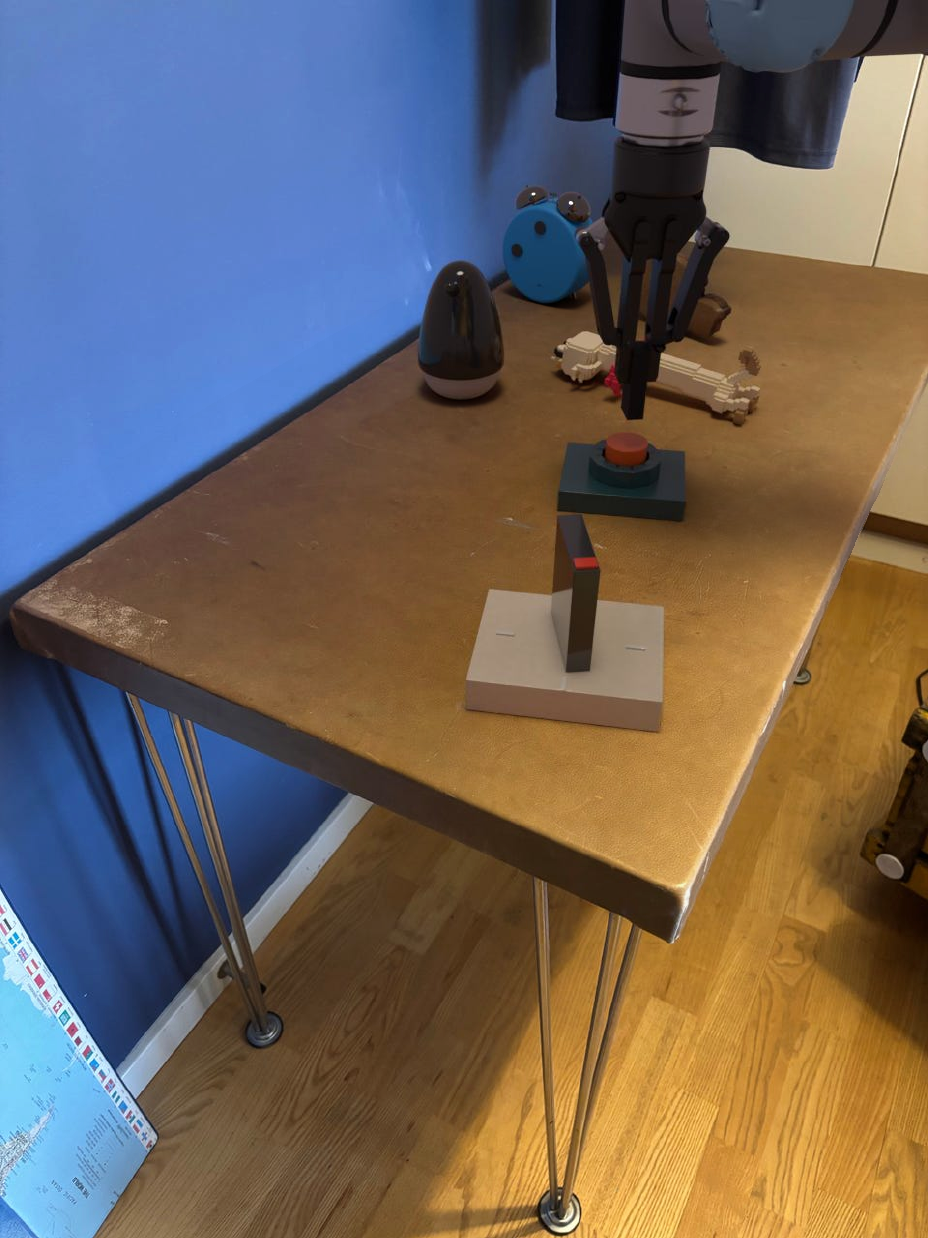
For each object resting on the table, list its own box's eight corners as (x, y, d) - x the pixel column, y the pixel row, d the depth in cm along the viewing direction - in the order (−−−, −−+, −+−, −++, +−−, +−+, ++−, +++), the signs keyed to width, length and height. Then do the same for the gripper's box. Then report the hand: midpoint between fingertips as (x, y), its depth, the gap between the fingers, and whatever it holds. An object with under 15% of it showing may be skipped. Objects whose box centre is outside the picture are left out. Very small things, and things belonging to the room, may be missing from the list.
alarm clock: (597, 301, 133) (606, 191, 123) (574, 314, 129) (582, 201, 119) (522, 283, 139) (526, 177, 129) (499, 295, 135) (501, 186, 126)
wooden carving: (733, 339, 121) (747, 263, 115) (714, 349, 119) (727, 271, 112) (634, 308, 130) (641, 236, 124) (614, 317, 128) (621, 243, 122)
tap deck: (659, 634, 74) (664, 603, 72) (657, 733, 65) (663, 701, 63) (488, 616, 76) (489, 586, 74) (465, 710, 67) (465, 678, 65)
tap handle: (550, 612, 71) (557, 512, 65) (573, 611, 71) (581, 510, 66) (565, 672, 66) (574, 568, 60) (590, 671, 66) (601, 567, 60)
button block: (681, 469, 94) (687, 434, 92) (682, 521, 87) (688, 485, 84) (566, 460, 96) (568, 426, 94) (557, 510, 89) (559, 474, 86)
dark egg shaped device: (408, 405, 107) (401, 273, 97) (431, 369, 115) (427, 244, 105) (493, 414, 105) (494, 280, 95) (511, 376, 113) (514, 250, 103)
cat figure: (758, 409, 108) (571, 349, 117) (780, 339, 102) (581, 282, 111) (729, 444, 101) (534, 377, 110) (751, 370, 95) (542, 307, 105)
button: (646, 449, 90) (648, 433, 89) (645, 469, 87) (647, 453, 86) (605, 446, 91) (607, 430, 90) (603, 466, 88) (605, 449, 87)
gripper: (589, 148, 68) (570, 435, 83) (759, 142, 69) (711, 428, 83) (571, 128, 74) (556, 399, 89) (728, 123, 75) (688, 393, 89)
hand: (631, 413), depth 86 cm, fingers closed
